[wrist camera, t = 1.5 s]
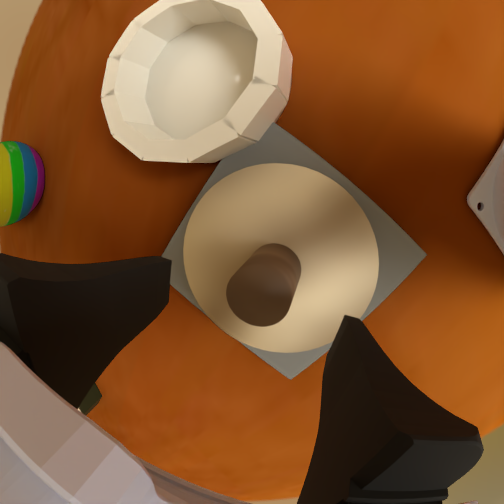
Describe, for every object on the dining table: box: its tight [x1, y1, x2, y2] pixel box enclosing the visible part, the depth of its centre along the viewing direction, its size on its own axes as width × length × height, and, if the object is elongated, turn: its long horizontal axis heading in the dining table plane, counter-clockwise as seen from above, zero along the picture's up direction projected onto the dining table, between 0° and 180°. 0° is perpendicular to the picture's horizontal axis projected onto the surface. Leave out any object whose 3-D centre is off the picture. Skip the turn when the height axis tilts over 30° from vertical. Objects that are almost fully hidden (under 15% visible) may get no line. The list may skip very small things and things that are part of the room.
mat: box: [161, 122, 427, 380], centre depth 16 cm, size 12×12×1 cm
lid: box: [183, 163, 379, 353], centre depth 14 cm, size 11×11×4 cm
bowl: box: [101, 0, 293, 163], centre depth 13 cm, size 10×10×4 cm
